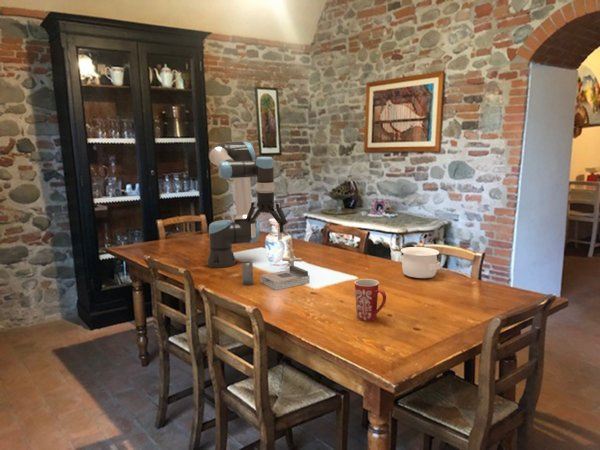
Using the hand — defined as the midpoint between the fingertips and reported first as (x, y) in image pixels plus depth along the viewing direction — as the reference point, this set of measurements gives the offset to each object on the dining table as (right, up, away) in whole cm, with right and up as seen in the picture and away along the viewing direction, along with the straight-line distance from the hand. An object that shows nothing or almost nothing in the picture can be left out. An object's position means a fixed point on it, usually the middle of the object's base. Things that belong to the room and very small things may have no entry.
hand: (266, 238), depth 213 cm
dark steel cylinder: (-9, -21, +3) cm, 23 cm away
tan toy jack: (+11, -17, +27) cm, 34 cm away
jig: (+8, -20, +4) cm, 22 cm away
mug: (+41, -28, -41) cm, 64 cm away
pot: (+72, -19, +13) cm, 76 cm away
